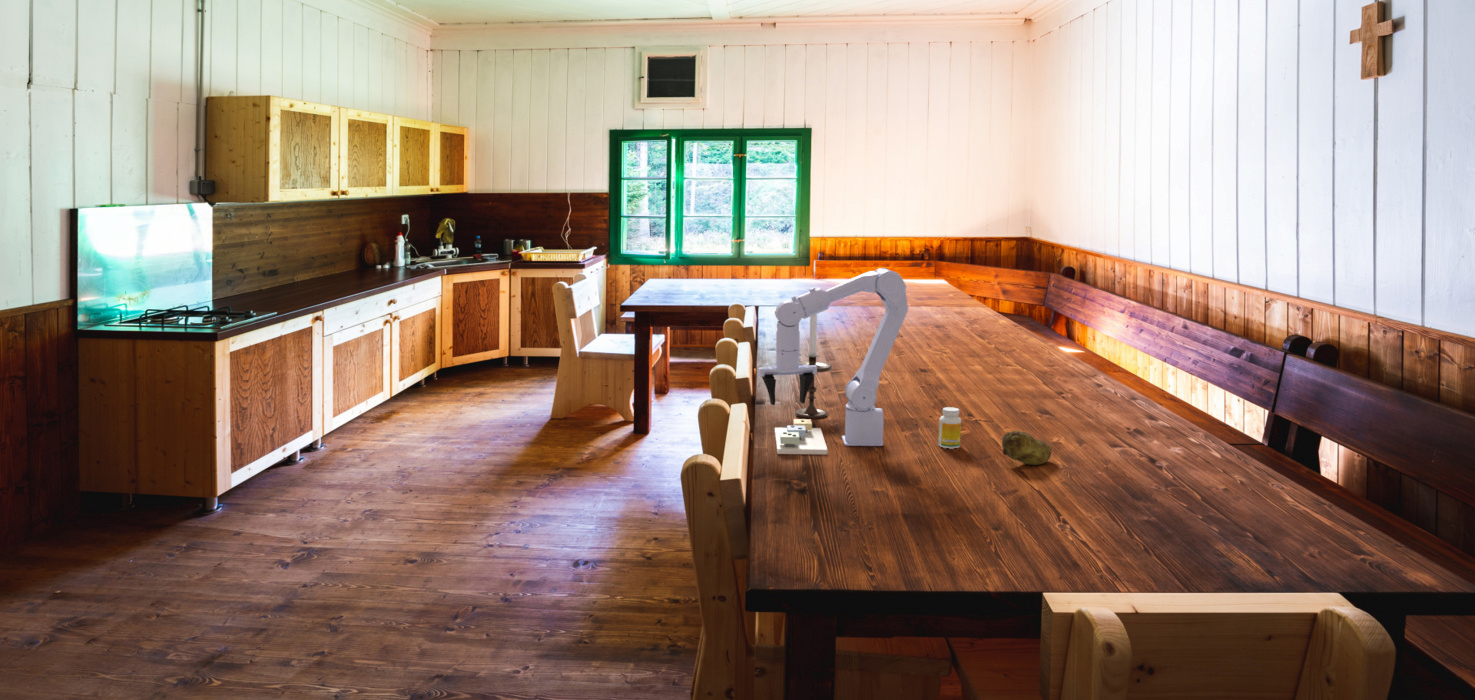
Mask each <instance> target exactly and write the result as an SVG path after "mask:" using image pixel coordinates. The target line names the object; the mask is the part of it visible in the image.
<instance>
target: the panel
mask: <svg viewBox="0 0 1475 700" xmlns="http://www.w3.org/2000/svg"><path fill="white" fill-rule="evenodd" d="M780 432H787V427H774V437H775V447H776V451H777V453H776V454H778V455H828V447H827V444H826V441H825V438H824V435H823V431H822V428H821V427H812V430H806V437H799V444H781V443H780Z"/></svg>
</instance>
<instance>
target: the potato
mask: <svg viewBox="0 0 1475 700" xmlns="http://www.w3.org/2000/svg"><path fill="white" fill-rule="evenodd" d="M1001 444H1002V445H1001V446H1002V450H1003V451H1002V454H1003V455H1004V456H1007V457H1008V458H1010V459H1011V460H1014V461H1018V462H1021V463H1023V464H1024V465H1025V464H1026V465H1028V466H1040V465H1042V464H1045V463H1046V462H1048V461H1049V460H1050V458H1051V456H1052V447H1051V446H1050V445H1049V444H1048V443H1046V442H1045V441H1043V440H1040V439H1037V438H1036V437H1034V436H1032V435H1031V434H1030V433H1027V432H1025V431H1021V430H1012V431H1010V432H1007V433H1004V435H1003V436H1002V439H1001Z"/></svg>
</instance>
